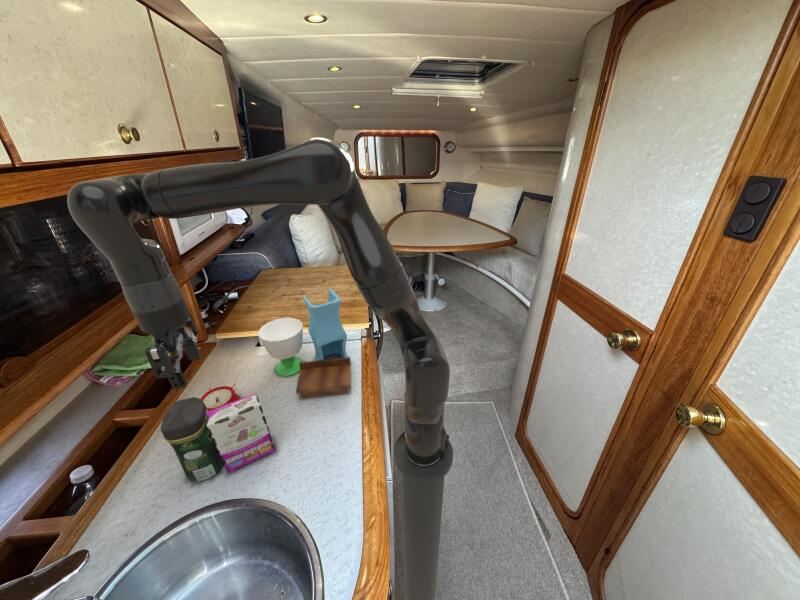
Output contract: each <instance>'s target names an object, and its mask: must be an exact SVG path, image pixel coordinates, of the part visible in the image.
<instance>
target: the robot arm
mask: <svg viewBox="0 0 800 600" xmlns="http://www.w3.org/2000/svg"><path fill="white" fill-rule="evenodd" d="M66 198H67V199H66V202H67V208H68V211H69V214H70V216H71V218H72V220H73V221H74V222H75V224H76V225H77V226H78V228H79V229H80V230H81V231H82V232H83V234H85V236H86V237H87V238H88V239H89V240H90V242H92V244H94V246H95V247H96V248H97V249H98V250H99V251H100V252H101V254H103V255H104V256H105V257H106V258H107V260H108V261H109V263H110V266H111V268H112V270H113V272H114V274H115V276H116V278H117V280H118V282H119V284H120V286H121V290H122V294H123V297H124V298H125V301H126V302H127V305H128V307H129V309H130V311H131V312H132V315H133V317H134V319H135V320H136V323H137V325H138V328H139V329H140V331H142V332H143V333H146V334H149V335H151V336H152V338H153V342H154V346H153V347H149V348H146V349H145V350H144V353H145V356H146V358H147V360H148V362H149V365H150V367H151V369H152V371H153V374H154V376H155V378H156V379H157V380H159V379H165V378H167V379H168V381H169V382H168V383H170V386H171V387H172V389H174V390H177V389H184V388H186V386H187V385H188V382H187V380H186V377H185V375H184V373H183V371H182V369H181V360H182V359H183V357H184V356H183V350H184V352H185V355H186V356H187V359H188V360H189V361H198V360H201V358H202V354H201V351H200V348H199V346H198V344H197V343H198V338H197V336H199V335H200V332H199V328H198V326H197V324H196V322H195V319H194V317H193V314H192V312H191V311H190V310H189V308H188V306H187V303H186V300H185V298H184V296H183V293H182V291H181V288H180V285H179V284H178V281H177V279H176V278H175V276H174V274H173V272H172V271H171V268H170V265H169V263H168V261H167V257H166V255H165V252H164V251H163V248H162V247H161V246H160V244H159V243H158V242H157V241H156V240H154V239H150V238H142V237H141V236H140V235H139V233H138V232H137V231H136V229H135V227H134V226H133V225H135V224H138V223H141V222H145V221H149V220H153V219H158V218H164V219H169V220H173V219H174V220H176V219H177V220H178V219H184V218H192V217H198V216H203V215H209V214H216V213H221V212H227V211H233V210H238V209H243V208H249V207H259V206H269V205H270V206H272V205H310V206H311V205H313V206H315V205H317V206H319V207H320V208H321V210H322V212H323V213H324V216H326V218H327V219H328V221H329V223H330V225H331V227H332V228H333V230H334V233H335V235H336V238H337V239H338V242H339V245H340V248H341V251H342V254H343V257H344V259H345V260H344V261H345V262H346V266H347V268H348V270H349V273H350V276H351V278H352V280H353V282H354V284H355V286H356V287H357V289H358V291H359V293H360V294H361V296H362V298H363V300H364V301H365V303H366V304H367V305H368V307H369V308H370V310H371V311H372V312H373V313H374V314H375V315H376V316H377V317H378V318H380V319H381V320H382V322H384V323H385V324H386V325H387V326H388V327H389V328H390V330H391V331H392V333H393V335H394V337H395V339H396V342H397V343H398V346H399V348H400V351H401V355H402V361H403V362H402V363H403V367H404V375H405V390H404V391H405V392H404V432H405V436H404V439H405V453H406V456H407V458H408V460H409V461H410V462H411V463H412V464H414V465H416V466H418V467H430V466H433V465H435V464H436V463H437V462H438V461H439V460H440V459H443V458H444V447H448V440H450V435H449V434H447V431H446V429H445V425H444V419H445V403H446V402H447V400H448V397H449V389H450V379H451V368H450V364H449V361H448V358H447V355H446V352H445V349H444V347H443V345H442V343H441V341H440V340H439V339H438V337H437V335H435V333H434V331H433V330H432V329H431V327H430V325H429V324H428V322H427V321H426V319H425V317H424V315H423V313H422V311H421V308H420V305H419V302H418V299H417V296H416V293H415V291H414V288H413V286H412V283H411V280H410V278H409V276H408V274H407V272H406V269H405V268H404V266H403V264H402V262H401V260H400V258H399V257H398V255H397V253H396V251H395V249H394V247H393V246H392V243H391V242H390V240H389V239H388V237H387V235H386V233H385V231H383V229H382V227H381V226H380V224H379V223H378V221H377V219H376V218H375V216H374V214H373V212H372V210H371V208H370V206H369V203H368V201H367V199H366V197H365V194H364V191H363V188H362V186H361V184H360V181H359V178H358V176H357V172H356V170H355V166H354V162H353V161H352V158H351V155H350V154H349V152H348V150H347V148H345V147H344V146H343V145H342V144H341V143H339V142H338V141H336V140H334V139H332V138H329V137H323V136H318V137H310V138H306V139H304V140H303V141H301V142H300V143H299V144H296V145H294V146H291V147H288V148H286V149H283V150H280V151H277V152H274V153H272V154H268V155H264V156H261V157H257V158H251V159H246V160H239V161H229V162H228V161H227V162H211V163H209V162H207V163H197V164H190V165H189V164H188V165H184V166H176V167H169V168H162V169H158V170H154V171H152V172H147V173H133V174H124V175H115V176H108V177H103V178H99V179H92V180H86V181H81V182H78V183H76V184H74V185H72V187H71V188H70V189H69V190H68V193H67V196H66ZM190 329H191V330H190ZM173 353H174V355H173ZM169 354H172V355H169ZM172 361H173V363H172ZM404 439H403V440H404Z"/></svg>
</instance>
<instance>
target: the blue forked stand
mask: <svg viewBox="0 0 800 600" xmlns="http://www.w3.org/2000/svg"><path fill="white" fill-rule="evenodd" d="M301 297H302V299H303V301H304V303H305V306H306V308H307V311H308V314H309V315H308V316H309V322H308V329H307V330H308V331H307V332H308V333H309V337H310V338H311V340H312V343H313V346H314V361H317V360H325V357H328V356H330V355H339V356H340V358H347V357H348V355H347V351H346V350H347V349H346V347H347V346H346V345H347V340H348V339H347V338H348V336H347V332H346V330H345V329H344V326H343V323H342V322H341V318H340V307H341V306H340V305H341V298H340V296H339V295H338V294H337V293H336V292H335V291H334V290H333V289H332V288H330V289H328V302H324V303H321V304H312V303H311V302H310V300H309V298H308V297H307V295H302V296H301Z"/></svg>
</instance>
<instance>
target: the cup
mask: <svg viewBox="0 0 800 600" xmlns="http://www.w3.org/2000/svg"><path fill="white" fill-rule="evenodd" d="M303 336H304V323H303V322H302V320H299V319H298V318H294V317H281V318H277V319H273V320H271V321H268V322H266V323H265V324H264V325H262V326H261V327H260V329H259V330H258V338H259V340H260V342H261V343H262V345H263V347H264V349H265V350H266V352H267V353H268V355H269V356H270V357H272V358H273V359H276V360H280V363H279V364H278V365H277V366H276V368H275V372H276V373H277V374H278V375H279V376H282V377H290V376H293V375H296V374H298V373H300V366H299V362H303V360H302V359H299V358H296V356H297V355H298V354H299V353H300V352H301V349H302V347H303V340H304V339H303V338H304V337H303Z"/></svg>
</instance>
